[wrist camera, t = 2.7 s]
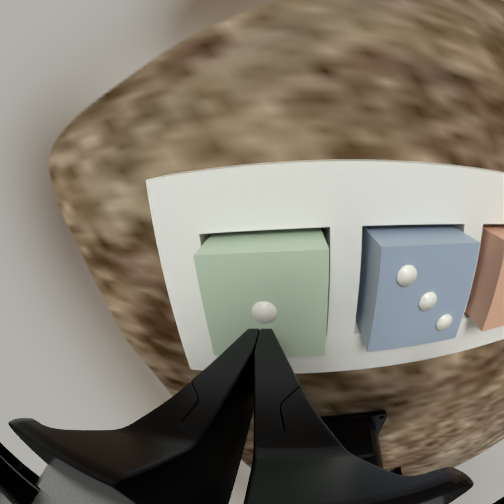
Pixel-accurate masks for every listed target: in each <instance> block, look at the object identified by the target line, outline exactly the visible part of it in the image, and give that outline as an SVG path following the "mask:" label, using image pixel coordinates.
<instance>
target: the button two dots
mask: <svg viewBox="0 0 504 504" xmlns="http://www.w3.org/2000/svg"><path fill="white" fill-rule="evenodd" d="M465 312H466V313H467V314H468V315H469V317H470V318H471V319H472V320H473V321H474V323H475V324H476V325H477V326H478V328H479V329H480V330H481V331H486V330H489V329H493V328H496V327H500V326H503V325H504V224H483V230H482V237H481V244H480V250H479V255H478V261H477V266H476V270H475V275H474V279H473V283H472V287H471V291H470V295H469V299H468V302H467V306H466V309H465Z"/></svg>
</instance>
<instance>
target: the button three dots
mask: <svg viewBox="0 0 504 504" xmlns="http://www.w3.org/2000/svg"><path fill="white" fill-rule="evenodd" d="M479 246H480V242H478V241H477V240H475V239H473V238H472V237H470V236H469V235H467V234H465V233H464V232H462V231H460V230H459V229H457V228H455V227H453V226H452V225H450V224H423V225H378V226H362V250H361V267H360V281H359V292H358V303H357V312H356V319H357V322H358V325H359V328H360V331H361V334H362V337H363V340H364V343H365V346H366V350H367V352H373V351H381V350H389V349H396V348H403V347H410V346H416V345H422V344H428V343H433V342H438V341H443V340H448V339H453V338H455V337H456V335H457V332H458V329H459V326H460V323H461V320H462V317H463V314H464V310H465V307H466V304H467V300H468V296H469V293H470V289H471V285H472V281H473V276H474V272H475V267H476V262H477V257H478V251H479Z"/></svg>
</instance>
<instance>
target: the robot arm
mask: <svg viewBox="0 0 504 504" xmlns="http://www.w3.org/2000/svg"><path fill="white" fill-rule="evenodd" d="M253 411H254V449H253V462H252V467H251V472H250V477H249V482H248V486H247V491H246V496H245V500H244V504H449V503H450V502H452V501H453V500H455V499H456V498H458V497H459V496H461V495H462V494H464V493H465V492H466V491H468V490H469V489H470V488H471V487H472V486H473V484H474V483H473V481H472V480H471V479H470V477H468V476H467V475H466V474H465V473H463V472H461V471H459V470H457V469H455V468H453V467H445V468H441V469H437V470H434V471H431V472H428V473H425V474H421V475H417V476H403V475H402V472H401V467H398V468H395V469H394V470H392V471H387V470H385V469H383V463H382V457H381V451H380V445H379V439H378V434H379V432H380V430H381V428H382V426H383V424H384V422H385V420H386V418H387V413H386V411H377V412H371V413H363V414H355V415H346V416H335V417H322V418H320V417H319V415H318V414H317V412H316V411H315V410H314V408H313V407H312V405H311V403H310V402H309V400H308V398H307V396H306V395H305V393H304V391H303V389H302V388H301V385H300V383H299V381H298V379H297V377H296V375H295V373H294V371H293V369H292V367H291V365H290V363H289V361H288V359H287V357H286V355H285V353H284V351H283V349H282V347H281V345H280V343H279V341H278V339H277V337H276V335H275V333H274V331H273V329H271V328H262V329H258V328H249V329H247V330H246V331H245V332H244V333H243V334H242V335H241V336H240V337H239V338H238V339H237V340H236V341H234V342H233V343H232V344H231V345H230V346H229V347H228V348H227V349H226V350H225V351H224V352H223V353H222V354H221V355H220V356H218V357H217V358H216V359H215V360H214V361H213V362H212V363H211V364H210V365H209V366H208V367H206V368H205V369H204V370H203V371H202V372H201V373H200V374H199V375H198V376H196V377H195V378H194V379H193V380H192V381H191V383H188V384H187V385H186V386H185V387H184V388H183V389H182V390H180V391H179V392H178V393H177V394H175V395H174V396H173V397H172V398H170V399H169V400H167V401H166V402H165V403H163V404H162V405H160V406H159V407H157V408H156V409H154V410H153V411H152V412H150V413H148V414H147V415H145V416H143V417H142V418H140V419H139V420H137V421H136V422H134V423H132V424H130V425H129V426H126V427H124V428H121V429H117V430H97V431H96V430H87V431H86V430H62V429H54V428H50V427H47V426H44V425H42V424H40V423H39V422H37V421H36V420H34V419H31V418H19V419H14V420H12V421H10V422H9V425H10V427H11V428H12V430H13V431H14V432H15V433H16V434H17V435H18V436H19V437H20V438H21V439H22V440H23V441H24V442H25V443H26V444H27V445H28V446H29V447H30V448H31V449H32V450H33V451H34V452H35V453H36V454H37V455H38V456H39V457H41V459H43V460H44V461H45V462H46V463H47V464H48V465H47V466H46V468H45V469H44V471H43V473H42V474H41V476H40V477H39V476H38V475H36V474H35V473H34V472H33V471H31V470H30V469H29V468H28V467H26V466H25V465H24V464H23V463H22V462H20V461H19V460H18V459H17V458H16V457H15V456H14V455H13V454H12V453H11V452H10V451H8V450H7V449H6V448H5V447H4V446H3V445H2V444H1V443H0V504H228V503H229V500H230V497H231V492H232V490H233V486H234V483H235V479H236V475H237V472H238V468H239V465H240V461H241V457H242V454H243V450H244V446H245V442H246V438H247V435H248V431H249V427H250V423H251V419H252V415H253ZM493 504H504V497H503V498H501V499H500V500H498V501H496V502H495V503H493Z"/></svg>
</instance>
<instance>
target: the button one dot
mask: <svg viewBox="0 0 504 504" xmlns="http://www.w3.org/2000/svg"><path fill="white" fill-rule="evenodd" d="M193 257H194V262H195V268H196V273H197V278H198V283H199V288H200V293H201V298H202V303H203V308H204V313H205V317H206V322H207V326H208V331H209V335H210V339H211V344H212V348H213V352H214V356H220V355H221V354H222V353H223V352H224V351H225V350H226V349H227V348H228V347H229V346H230V345H231V344H232V343H233V342H234V341H236V340H237V339H238V338H239V337H240V336H241V335H242V334H243V333H244V332H245V331H246V330H247V329H249V328H258V329H262V328H271V329H273V331H274V333H275V335H276V337H277V339H278V341H279V343H280V345H281V347H282V349H283V351H284V353H285V355H286V357H306V356H324V354H325V342H326V327H327V310H328V286H329V248H328V245H327V243H326V240H325V237H324V235H323V232H322V230H321V227H319V228H297V229H276V230H257V231H239V232H223V233H212V235H211V236H210V237H209V238H208V239H207V240H206V241H205V242H204V244H203V245H202V246H201V247H200V248H199V249H198V250H197V252H196V253H195V254H194V255H193Z"/></svg>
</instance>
